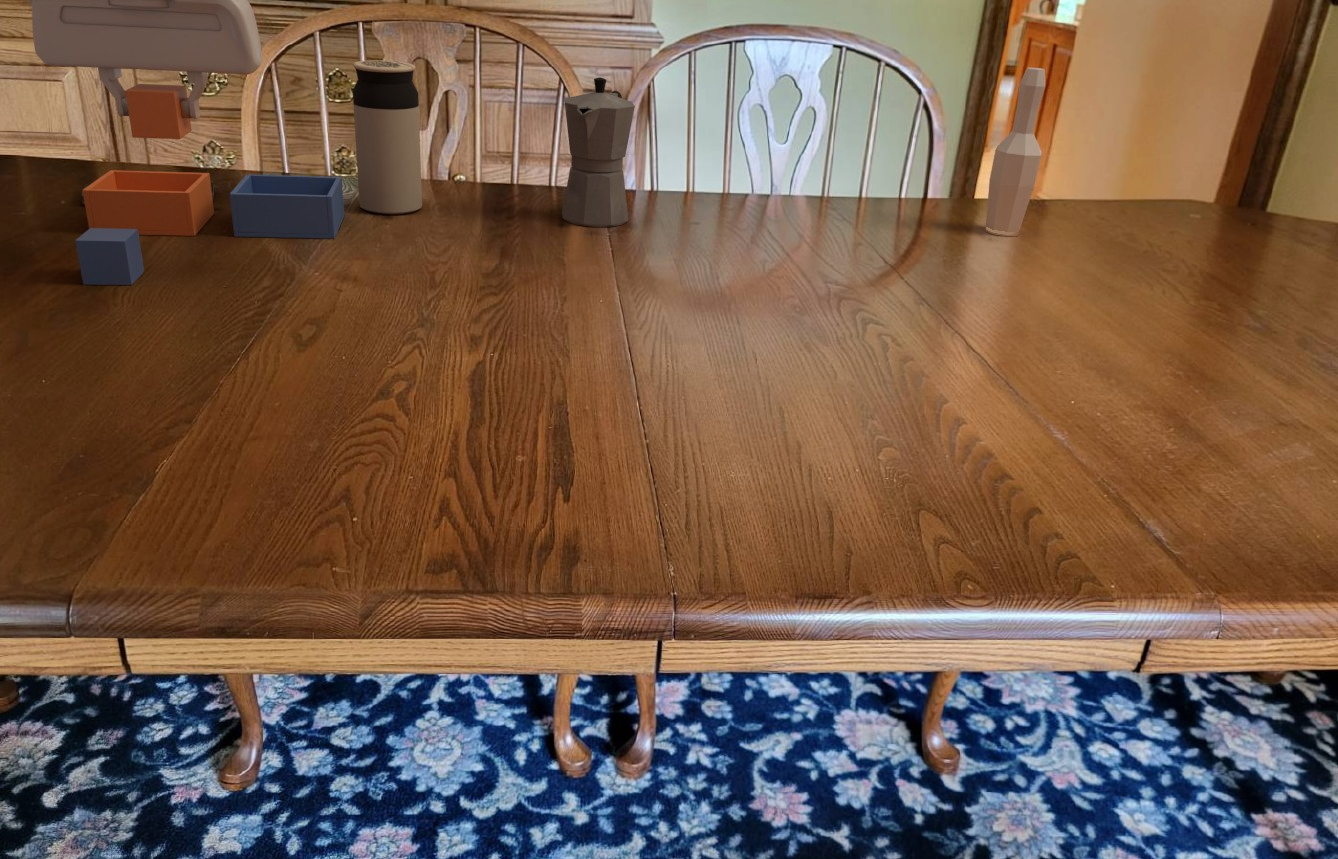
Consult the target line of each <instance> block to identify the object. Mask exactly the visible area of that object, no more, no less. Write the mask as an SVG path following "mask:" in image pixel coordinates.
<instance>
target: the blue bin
mask: <svg viewBox="0 0 1338 859" xmlns="http://www.w3.org/2000/svg"><path fill="white" fill-rule="evenodd" d="M229 201H230V202H229V203H230V210H231V218H232V220H231V221H232V227H233V228H232V229H233V237H234V238H236V237H237V238H276V239H277V238H280V239H281V238H282V239H283V238H284V239H332V240H334V239H336V237H337V234H338V232H339V229H340V227H341V225H342V223H343V220H344V218H345V208H344V207H345V206H344V190H343V177H342V176H322V175H321V176H320V175H286V174H285V175H284V174H279V175H278V174H255V173H254V174H253V173H252V174H251V173H246V174H245V175H244V177H243V178H242V179H241V180H240V181H239V182H238V184H237V185H236V186H235V187H233V189H232V190H231V192H230V193H229Z"/></svg>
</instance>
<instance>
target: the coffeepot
mask: <svg viewBox="0 0 1338 859" xmlns="http://www.w3.org/2000/svg"><path fill="white" fill-rule="evenodd" d="M593 82H594V89H595V90H594V92H588V93H584V94H579V95H575V96H569V97H565V98H563V99H564V100H563V101H564V109H565V118H566V119H565V120H566V129H567V138H568V147H569V154H570V155H571V163H570V166H571V167H570V168H569V172H568V177H567V182H566V188H565V194H564V199H563V205H562V210H561V214H562V219H563V220H564V221H565V222H567V223H570V224H572V225H576V226H582V227H591V228H612V227H618V226H622V225H624V224H626V223H628V222H629V211H628V203H627V194H626V186H625V185H626V184H625V176H624V170H623V158H625V157H626V155H627V149H628V145H629V138H630V134H631V128H632V123H633V118H634V113H635V108H636V105H635V104H634V103H633V101H631V100H628V99H626V98H625V99H624V98H623V97H622V93H621V92H620V91H618V90H613V91H611V92H605V89H606V85H607V79H606V78H604V77H596V78H593Z"/></svg>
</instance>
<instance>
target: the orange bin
mask: <svg viewBox="0 0 1338 859" xmlns="http://www.w3.org/2000/svg"><path fill="white" fill-rule="evenodd" d="M210 181H211V174H210V173H209V172H185V171H184V172H183V171H152V170H151V171H150V170H118V169H116V170H115V169H114V170H113V169H110V170H109V171H107V172H106V173H105V174H103V175H101V176H100V177H99V178H97V179H96V180H95V181H93V182H91V183H92V184H90V185H89V186H88V187H86V188H85V189H84V188H83V189H82V191H83V197H84V202H85V205H84V209H85V212H86V213H85V214H86V220H87V224H88V230H89V229H90V228H109V229H138V233H139V236H178V237H181V236H182V237H195V236H196V235H197V234H198V233H199V232H200V231H201V229H202V228H204V226H205V225H206V224H207V223H208V221H209V220H210V219H211V218H212V217H213V215H215V210H214V209H215V208H214V202H213V199H212V191H211V183H210Z"/></svg>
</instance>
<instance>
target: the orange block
mask: <svg viewBox="0 0 1338 859" xmlns="http://www.w3.org/2000/svg"><path fill="white" fill-rule="evenodd" d="M124 90H125V93H126V99H127V106H128V112H129V116H128V119H129V124H130V131H131V132H130V133H131V137H132V138H136V139H161V140H162V139H165V140H181V139H183V138H184V137H185V136H187V135H188V134H189V133H191V132H192V131H193V130H192V122H191V119H187V118H182V116H181V109H180V102H179V101H180V100H182V99H183V98H188V91H187V86H186V85H180V84H179V85H177V84H175V85H174V84H155V83H138V84H136V85H134V86H132V87H130V88H127V89H124Z"/></svg>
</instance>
